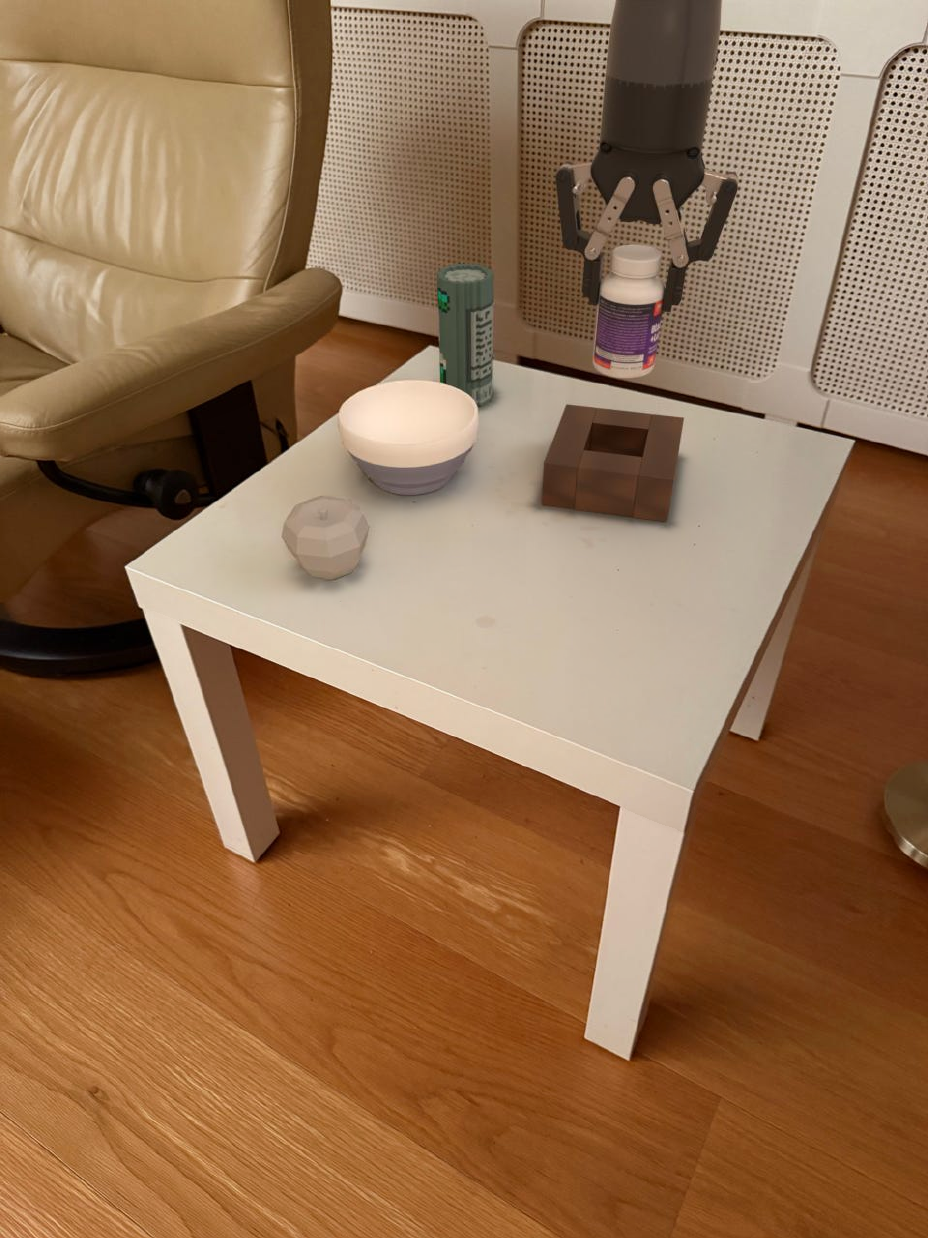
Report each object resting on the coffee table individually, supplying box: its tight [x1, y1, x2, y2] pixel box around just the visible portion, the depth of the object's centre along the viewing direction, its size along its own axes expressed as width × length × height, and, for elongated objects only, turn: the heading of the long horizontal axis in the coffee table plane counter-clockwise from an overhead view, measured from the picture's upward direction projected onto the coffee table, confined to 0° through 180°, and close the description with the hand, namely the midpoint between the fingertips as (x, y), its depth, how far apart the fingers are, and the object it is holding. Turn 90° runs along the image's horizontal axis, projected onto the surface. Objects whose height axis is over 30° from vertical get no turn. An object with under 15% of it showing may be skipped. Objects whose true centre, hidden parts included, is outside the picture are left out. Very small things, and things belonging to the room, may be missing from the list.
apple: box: [281, 495, 370, 580], centre depth 80 cm, size 8×8×7 cm
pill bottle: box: [592, 244, 666, 379], centre depth 73 cm, size 5×5×10 cm
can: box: [436, 263, 495, 408], centre depth 103 cm, size 6×6×15 cm
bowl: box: [337, 379, 480, 496], centre depth 92 cm, size 14×14×8 cm
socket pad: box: [541, 404, 685, 523], centre depth 92 cm, size 13×13×5 cm
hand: (630, 304), depth 73 cm, fingers closed on pill bottle, 5 cm apart
